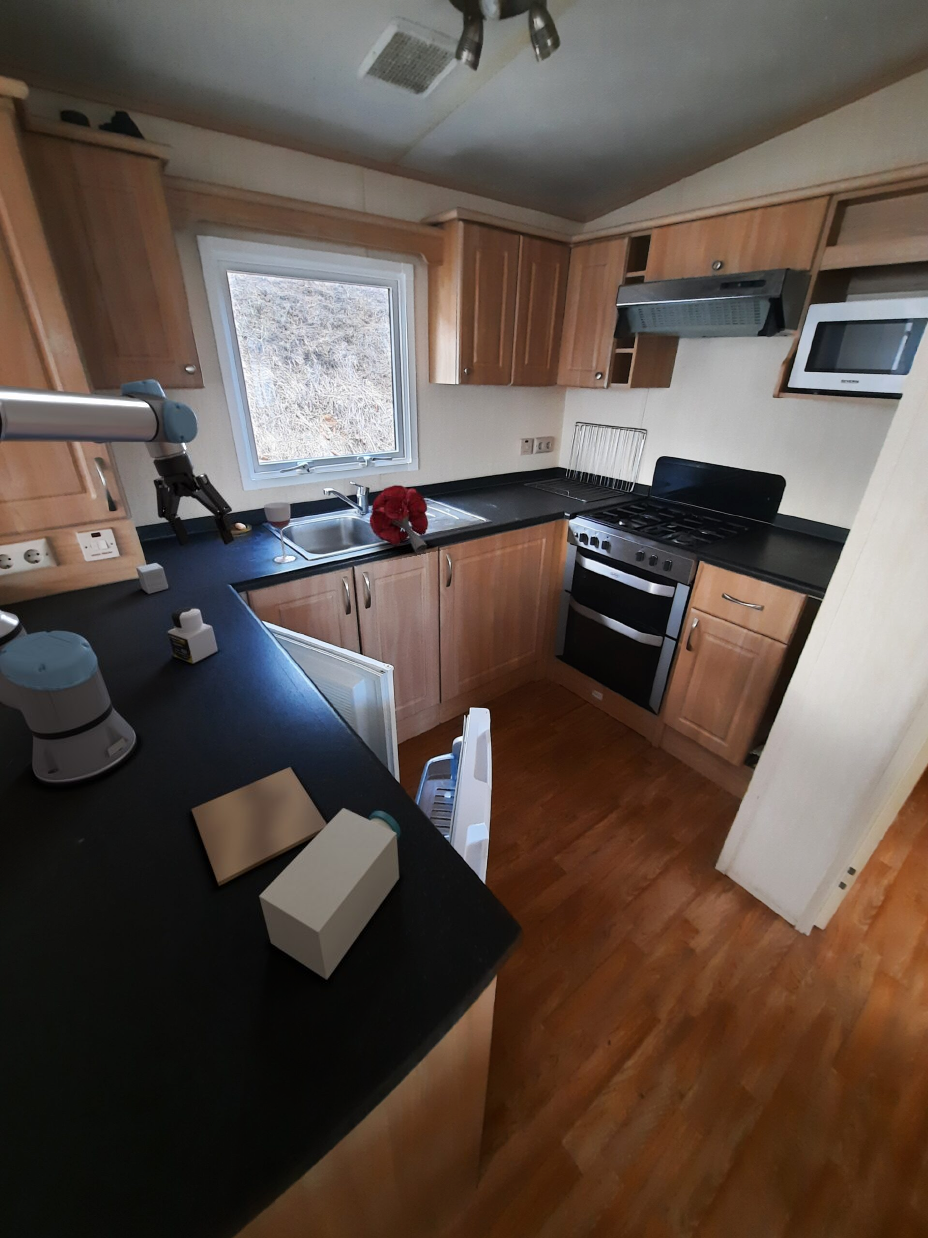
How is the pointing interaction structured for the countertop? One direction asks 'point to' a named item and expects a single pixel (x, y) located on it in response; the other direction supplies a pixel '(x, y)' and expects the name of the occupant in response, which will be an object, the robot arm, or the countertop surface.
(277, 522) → the wineglass
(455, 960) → the countertop surface
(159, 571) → the product box
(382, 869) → the drink carton
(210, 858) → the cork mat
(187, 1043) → the countertop surface
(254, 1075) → the countertop surface
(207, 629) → the medicine bottle
